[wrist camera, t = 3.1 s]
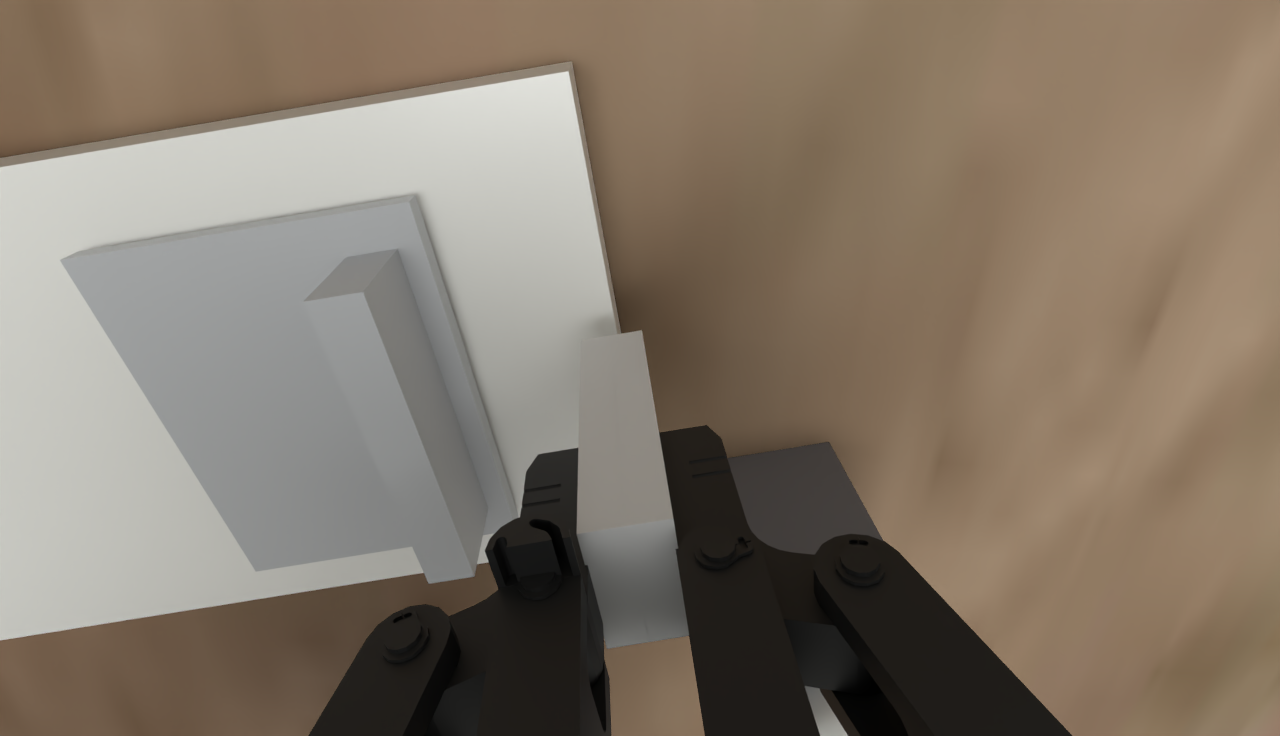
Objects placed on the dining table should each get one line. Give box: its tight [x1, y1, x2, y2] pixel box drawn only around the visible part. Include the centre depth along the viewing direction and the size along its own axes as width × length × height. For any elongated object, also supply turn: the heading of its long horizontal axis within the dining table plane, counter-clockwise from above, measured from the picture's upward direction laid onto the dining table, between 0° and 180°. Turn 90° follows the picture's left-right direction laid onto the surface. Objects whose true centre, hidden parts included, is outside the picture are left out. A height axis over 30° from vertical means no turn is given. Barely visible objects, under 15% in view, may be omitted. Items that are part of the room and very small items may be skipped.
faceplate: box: [0, 61, 621, 640], centre depth 19 cm, size 22×14×3 cm, turn 99°
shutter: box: [60, 195, 519, 584], centre depth 16 cm, size 8×10×3 cm
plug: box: [727, 442, 883, 736], centre depth 20 cm, size 6×4×10 cm
